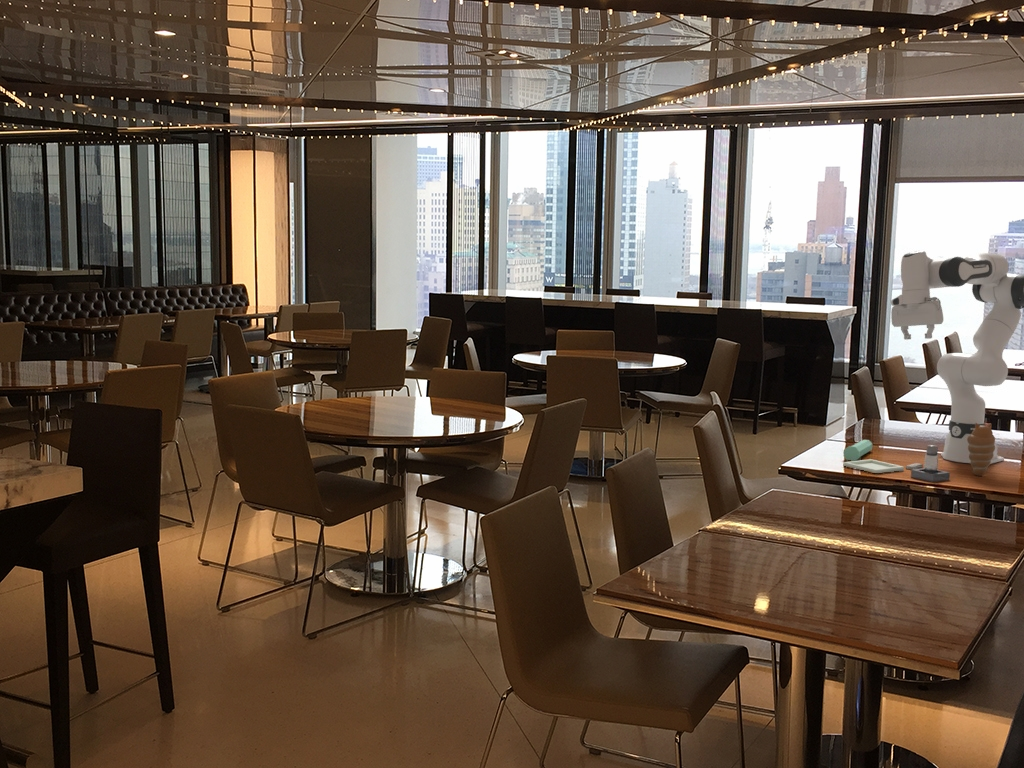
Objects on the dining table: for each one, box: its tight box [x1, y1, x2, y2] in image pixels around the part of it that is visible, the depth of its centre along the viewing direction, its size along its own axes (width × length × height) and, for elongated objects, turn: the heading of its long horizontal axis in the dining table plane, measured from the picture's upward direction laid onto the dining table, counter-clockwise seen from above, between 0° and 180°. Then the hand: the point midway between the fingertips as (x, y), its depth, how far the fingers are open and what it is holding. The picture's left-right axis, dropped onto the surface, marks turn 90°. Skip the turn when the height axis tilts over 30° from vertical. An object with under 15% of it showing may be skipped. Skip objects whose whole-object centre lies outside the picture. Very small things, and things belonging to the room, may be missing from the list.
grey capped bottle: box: [923, 444, 939, 474], centre depth 320 cm, size 4×4×11 cm
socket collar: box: [910, 467, 951, 483], centre depth 320 cm, size 8×8×2 cm
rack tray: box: [842, 458, 905, 473], centre depth 334 cm, size 14×14×2 cm
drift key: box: [905, 462, 924, 471], centre depth 338 cm, size 8×2×2 cm, turn 134°
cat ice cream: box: [967, 423, 996, 477], centre depth 326 cm, size 9×8×18 cm
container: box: [843, 439, 874, 461], centre depth 358 cm, size 6×6×25 cm
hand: (917, 339), depth 331 cm, fingers open, 8 cm apart
